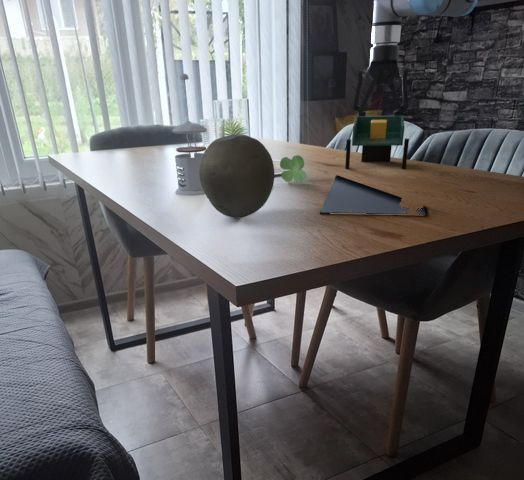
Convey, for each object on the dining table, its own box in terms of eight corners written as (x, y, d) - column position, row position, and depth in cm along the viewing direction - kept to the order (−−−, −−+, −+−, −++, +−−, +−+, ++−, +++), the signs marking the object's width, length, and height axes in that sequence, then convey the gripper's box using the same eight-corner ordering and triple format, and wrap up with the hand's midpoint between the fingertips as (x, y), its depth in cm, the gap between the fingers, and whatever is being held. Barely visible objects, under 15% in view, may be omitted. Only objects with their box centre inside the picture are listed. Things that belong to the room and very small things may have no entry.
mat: (336, 176, 129) (336, 175, 129) (414, 177, 125) (414, 175, 125) (319, 214, 95) (319, 212, 95) (425, 216, 91) (425, 214, 91)
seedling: (294, 198, 130) (294, 189, 124) (273, 177, 131) (272, 168, 124) (313, 179, 130) (314, 169, 123) (292, 158, 131) (292, 148, 124)
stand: (348, 167, 141) (349, 133, 137) (403, 167, 138) (406, 133, 134) (344, 175, 130) (346, 139, 125) (404, 176, 127) (409, 139, 122)
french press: (173, 196, 114) (159, 74, 102) (176, 186, 124) (163, 74, 112) (215, 193, 115) (206, 72, 102) (214, 184, 125) (206, 73, 112)
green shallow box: (356, 128, 144) (357, 111, 141) (400, 127, 141) (402, 110, 138) (352, 145, 126) (353, 126, 124) (402, 145, 124) (404, 126, 121)
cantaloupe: (198, 213, 99) (191, 133, 91) (265, 207, 102) (263, 129, 94) (209, 231, 87) (201, 141, 79) (284, 224, 90) (283, 136, 82)
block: (370, 135, 132) (371, 119, 130) (385, 135, 132) (386, 119, 129) (369, 138, 129) (371, 122, 127) (385, 138, 128) (386, 122, 126)
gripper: (424, 44, 132) (413, 134, 144) (347, 47, 136) (342, 135, 148) (426, 42, 126) (415, 137, 137) (345, 46, 130) (341, 138, 141)
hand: (377, 136), depth 142 cm, fingers closed on green shallow box, 8 cm apart
